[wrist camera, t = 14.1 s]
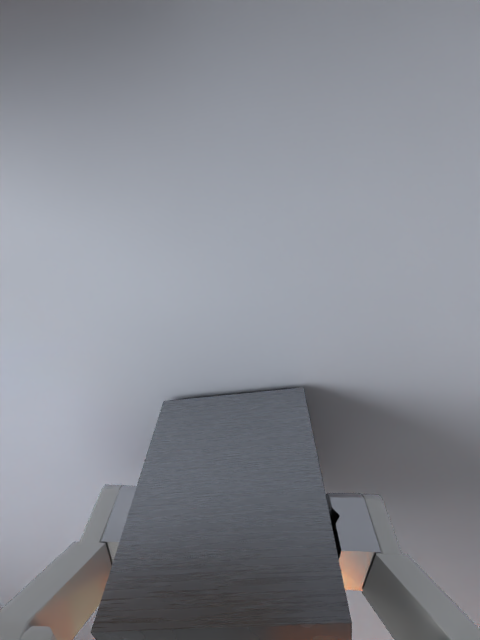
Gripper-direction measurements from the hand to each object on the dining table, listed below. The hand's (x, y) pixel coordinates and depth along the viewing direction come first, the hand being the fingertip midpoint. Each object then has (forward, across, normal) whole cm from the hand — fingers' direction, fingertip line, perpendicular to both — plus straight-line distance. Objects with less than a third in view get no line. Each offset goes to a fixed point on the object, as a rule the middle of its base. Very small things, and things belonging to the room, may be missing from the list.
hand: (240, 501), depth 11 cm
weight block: (+2, 0, 0) cm, 2 cm away
